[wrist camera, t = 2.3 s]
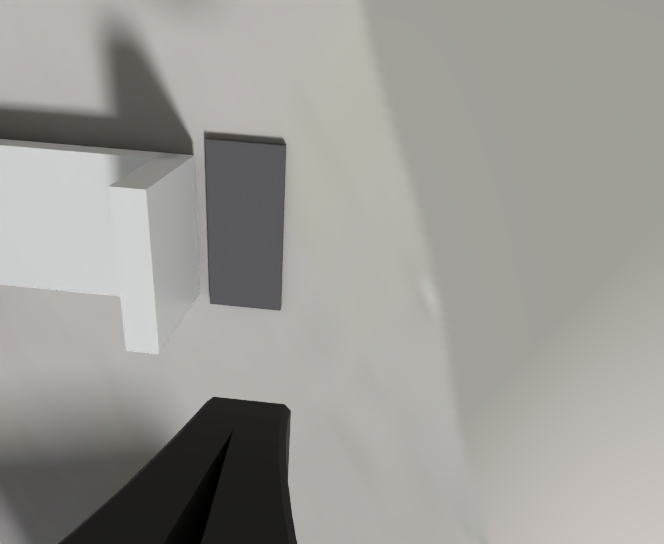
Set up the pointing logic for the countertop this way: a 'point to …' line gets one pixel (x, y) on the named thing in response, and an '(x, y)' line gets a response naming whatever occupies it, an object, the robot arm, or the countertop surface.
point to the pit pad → (245, 222)
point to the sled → (103, 230)
